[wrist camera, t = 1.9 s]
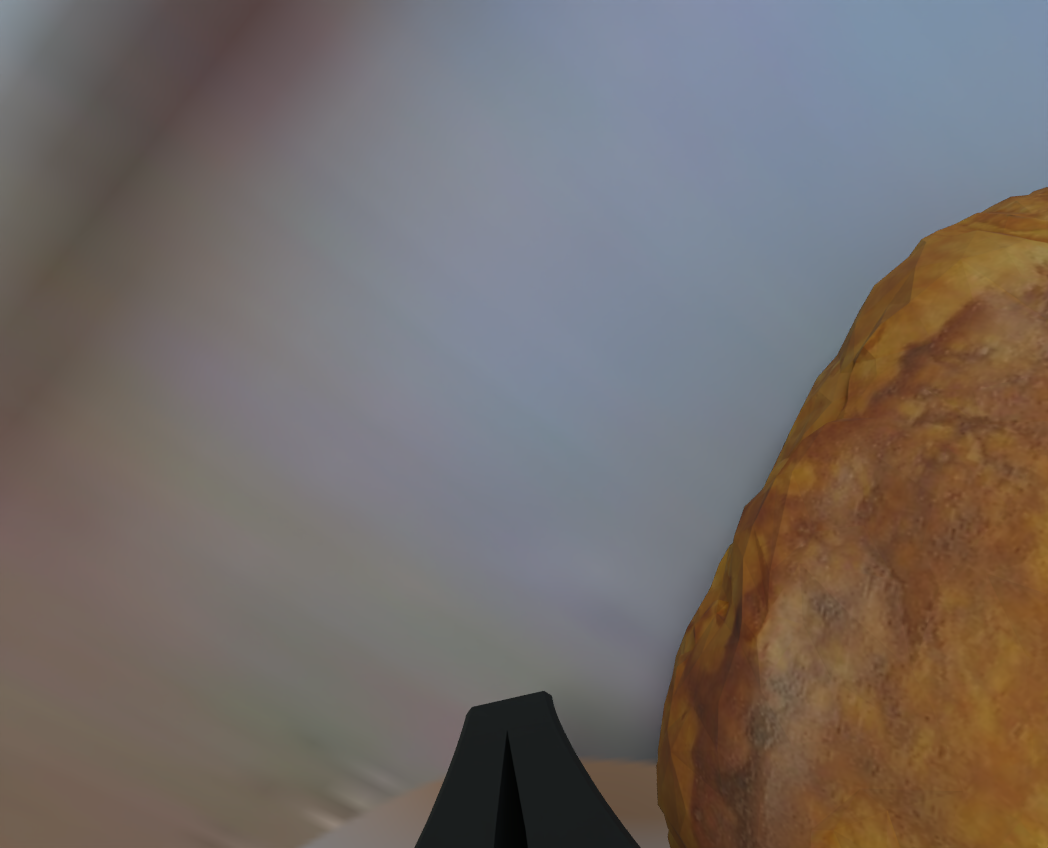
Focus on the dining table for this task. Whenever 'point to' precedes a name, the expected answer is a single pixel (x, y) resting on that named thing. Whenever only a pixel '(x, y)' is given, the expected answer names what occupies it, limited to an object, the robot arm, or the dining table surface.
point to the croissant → (889, 581)
